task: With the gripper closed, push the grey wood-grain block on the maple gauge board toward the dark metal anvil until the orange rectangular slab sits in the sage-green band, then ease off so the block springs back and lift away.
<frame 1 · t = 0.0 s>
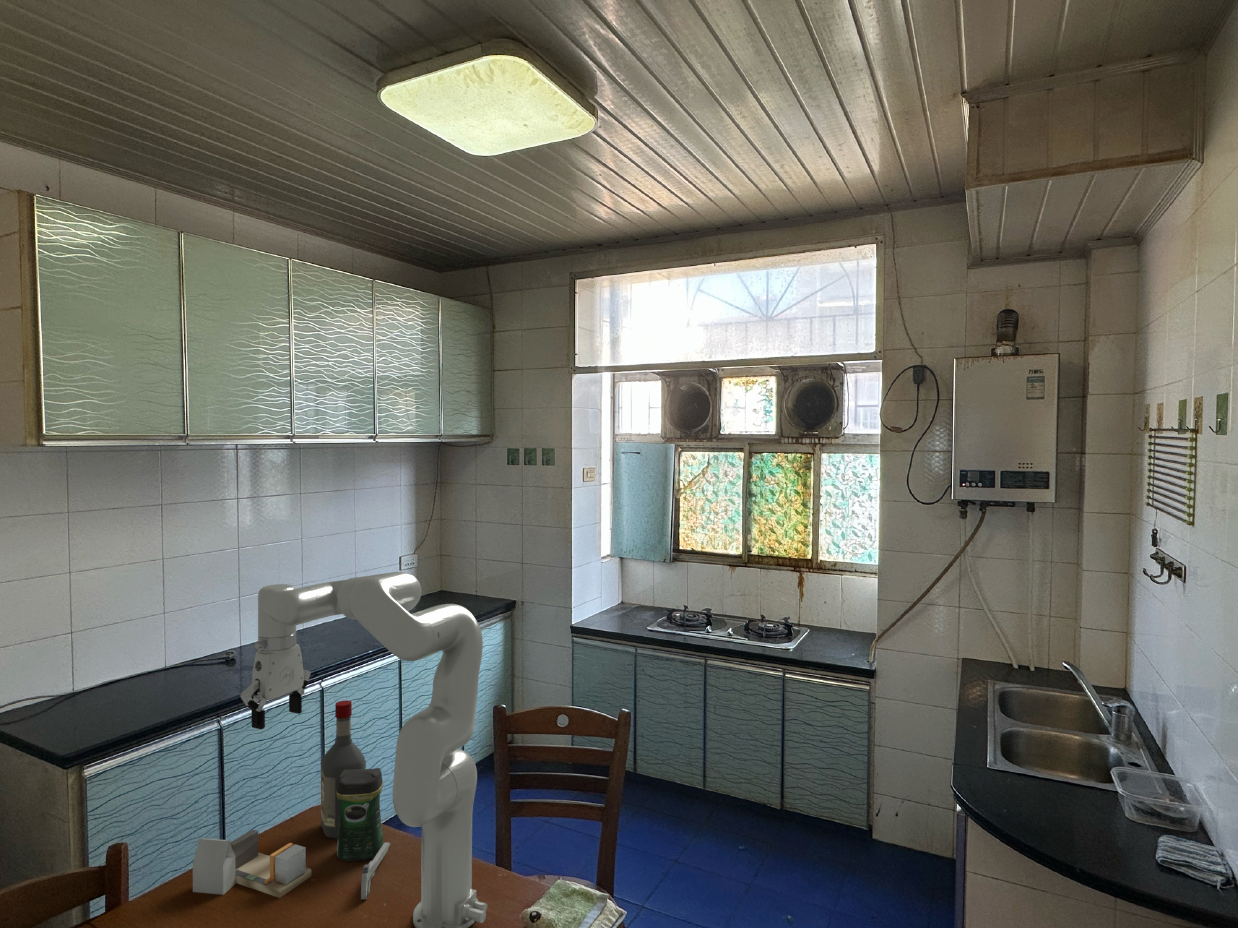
hand: (277, 719, 154), 31 cm above the table, tool pointing down, fingers open, 9 cm apart
orange rectangular slab: (278, 862, 146), point 4 cm above the table, slide at 0.0 cm
coffee jar: (360, 853, 158), on the table
liquor: (343, 828, 168), on the table
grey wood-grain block: (290, 863, 146), point 4 cm above the table, slide at 0.0 cm
gauge board: (267, 877, 149), on the table
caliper: (376, 872, 151), on the table
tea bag: (214, 888, 145), on the table
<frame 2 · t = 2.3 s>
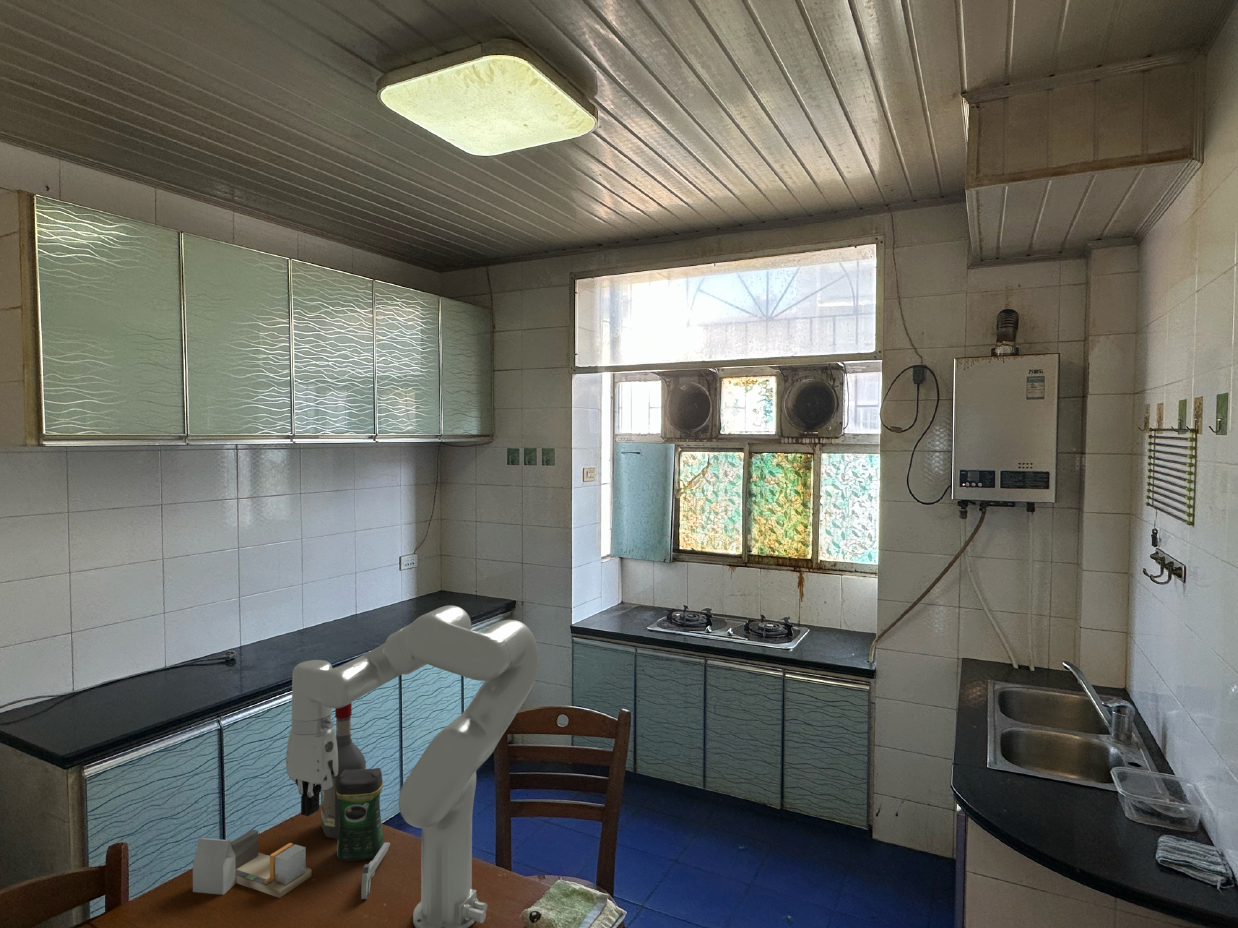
hand: (310, 812, 144), 16 cm above the table, tool pointing down, fingers closed
nothing on the table moved.
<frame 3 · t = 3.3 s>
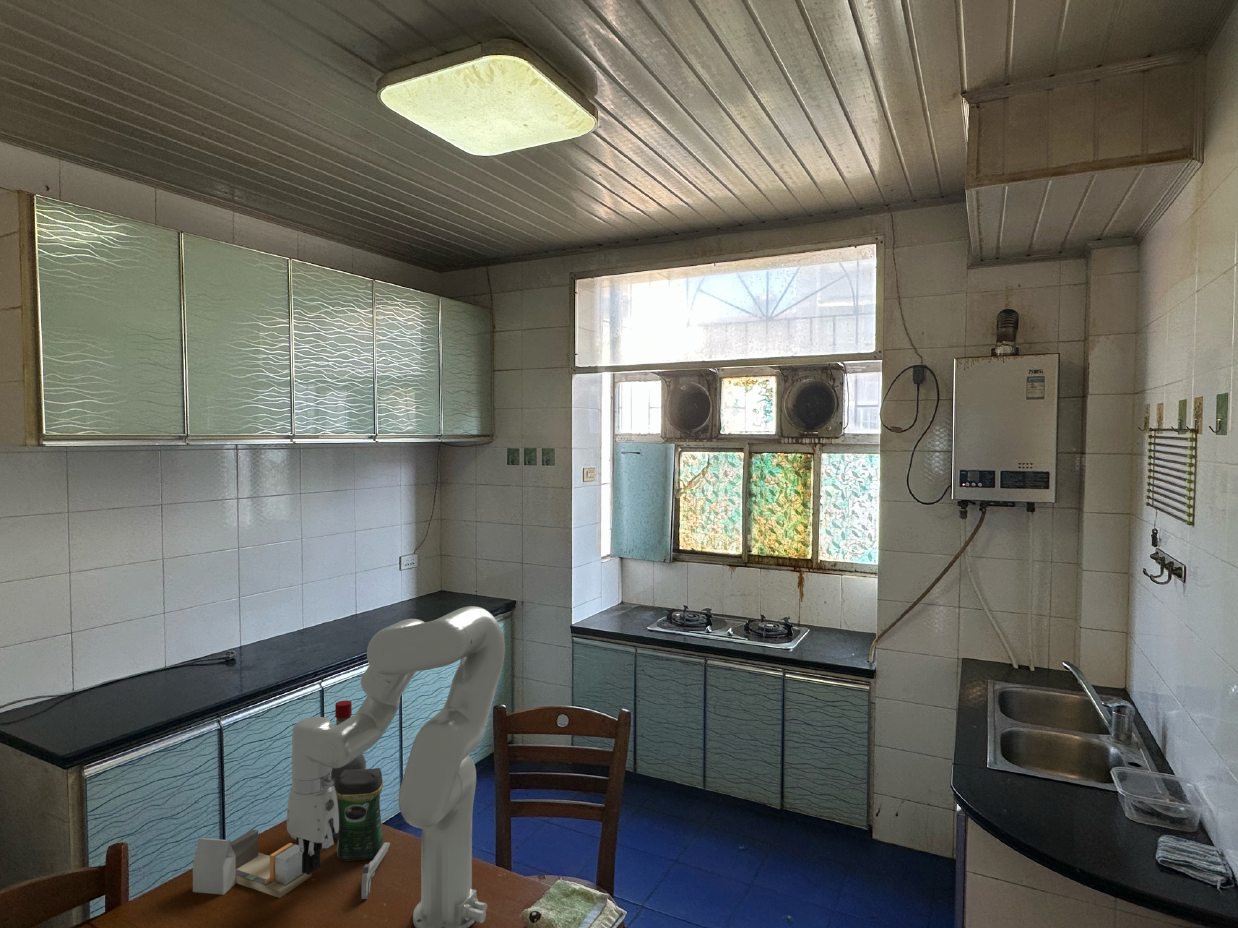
hand: (311, 869, 144), 5 cm above the table, tool pointing down, fingers closed
nothing on the table moved.
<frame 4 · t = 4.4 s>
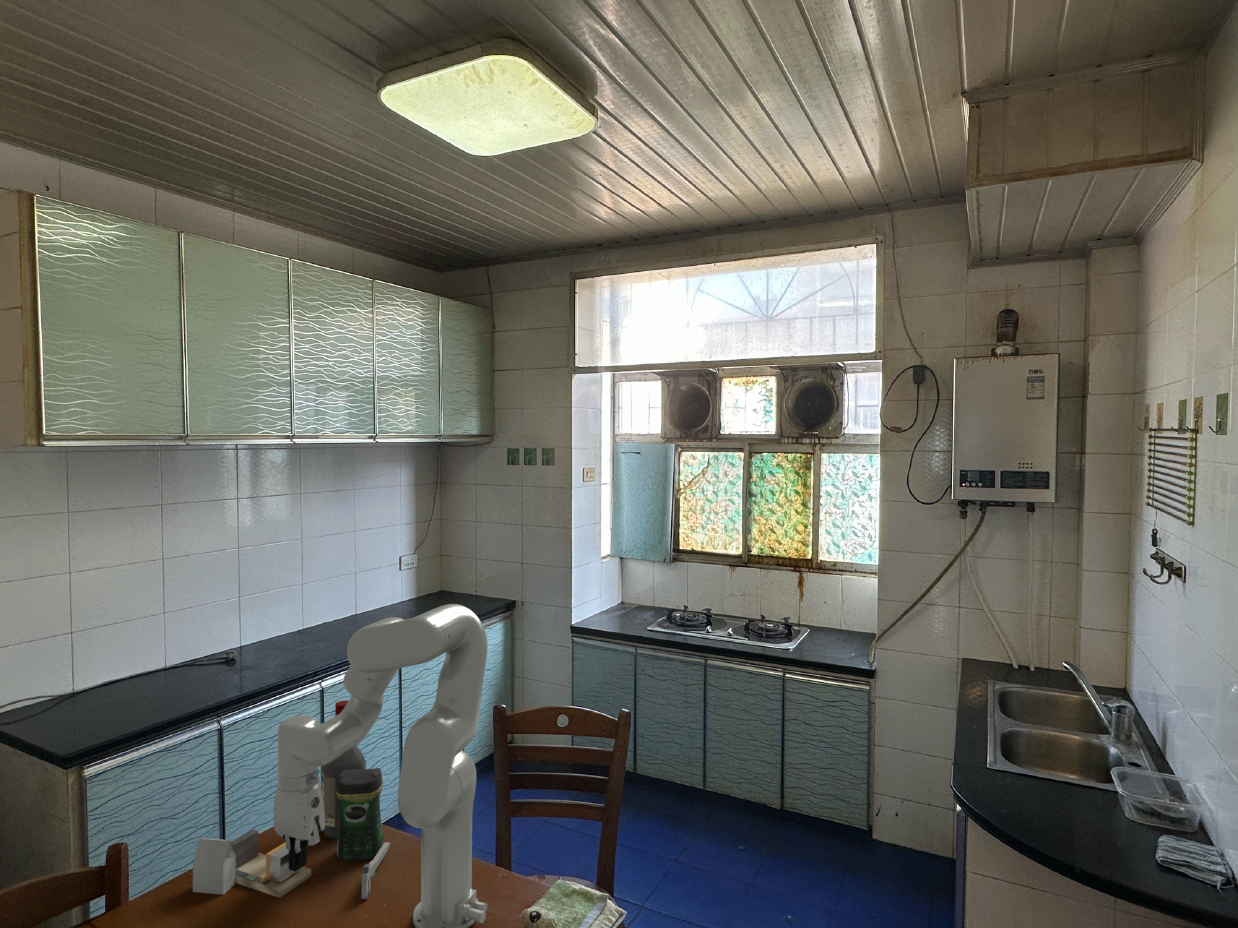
hand: (297, 866, 145), 4 cm above the table, tool pointing down, fingers closed
orange rectangular slab: (275, 861, 147), point 4 cm above the table, slide at 1.1 cm, touching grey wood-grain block
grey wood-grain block: (285, 862, 147), point 4 cm above the table, slide at 1.6 cm, touching gripper, orange rectangular slab
everything else where it was.
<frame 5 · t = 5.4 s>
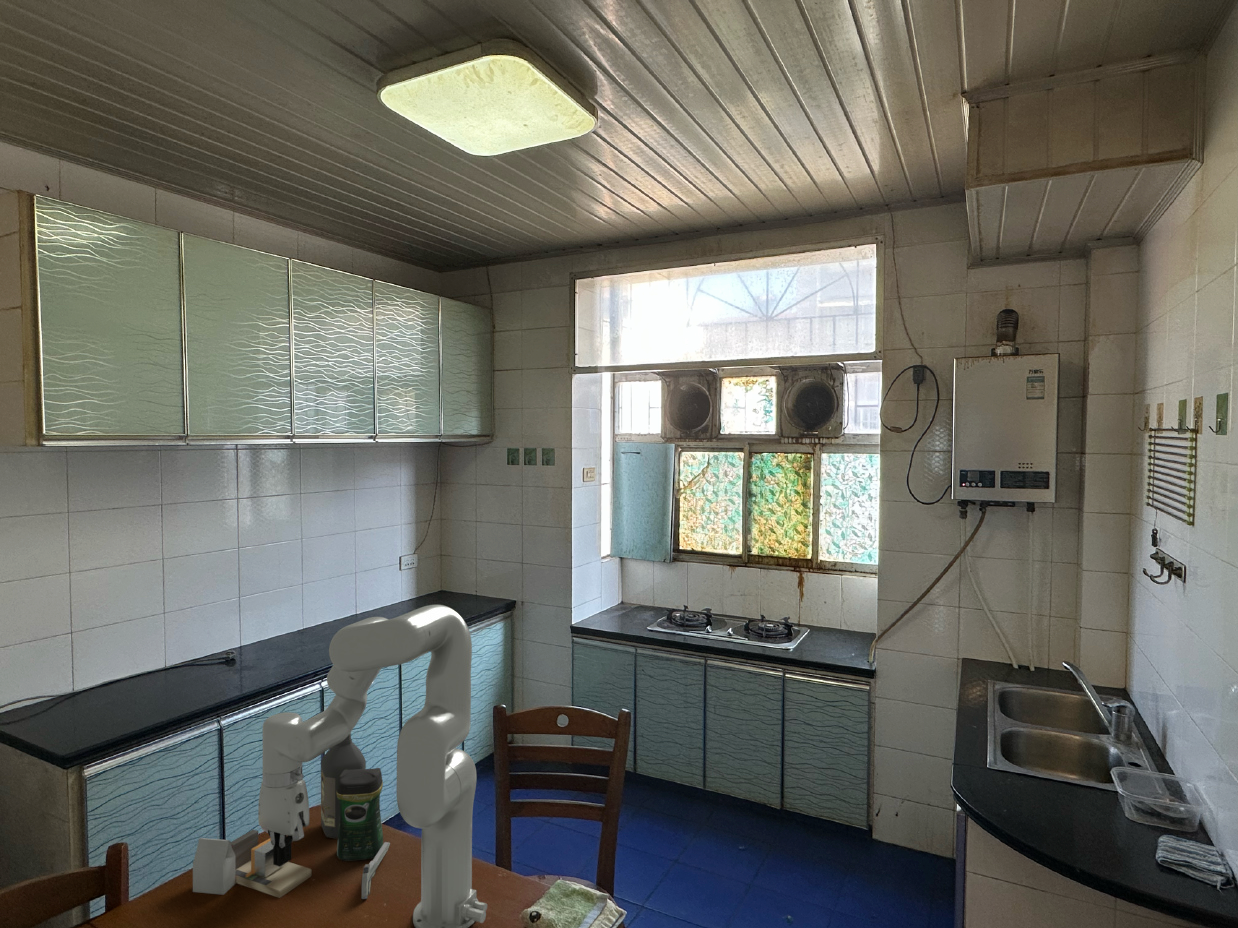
hand: (282, 862, 147), 4 cm above the table, tool pointing down, fingers closed
orange rectangular slab: (260, 856, 148), point 4 cm above the table, slide at 5.4 cm, touching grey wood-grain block
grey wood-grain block: (270, 857, 148), point 4 cm above the table, slide at 5.9 cm, touching gripper, orange rectangular slab
everything else where it was.
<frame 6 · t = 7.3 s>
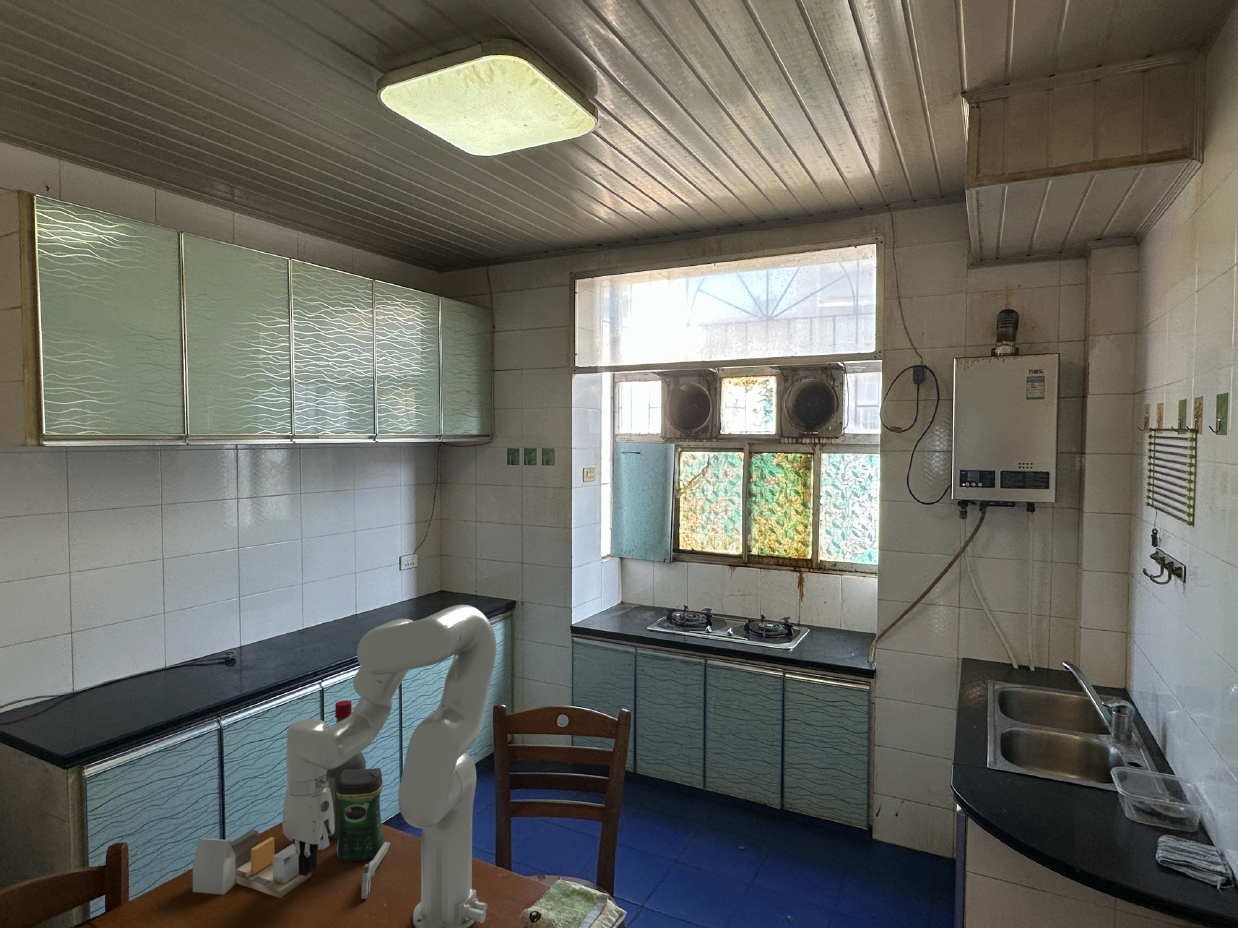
hand: (307, 871, 144), 4 cm above the table, tool pointing down, fingers closed
orange rectangular slab: (259, 856, 148), point 4 cm above the table, slide at 5.5 cm
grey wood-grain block: (288, 863, 146), point 4 cm above the table, slide at 0.6 cm
everything else where it was.
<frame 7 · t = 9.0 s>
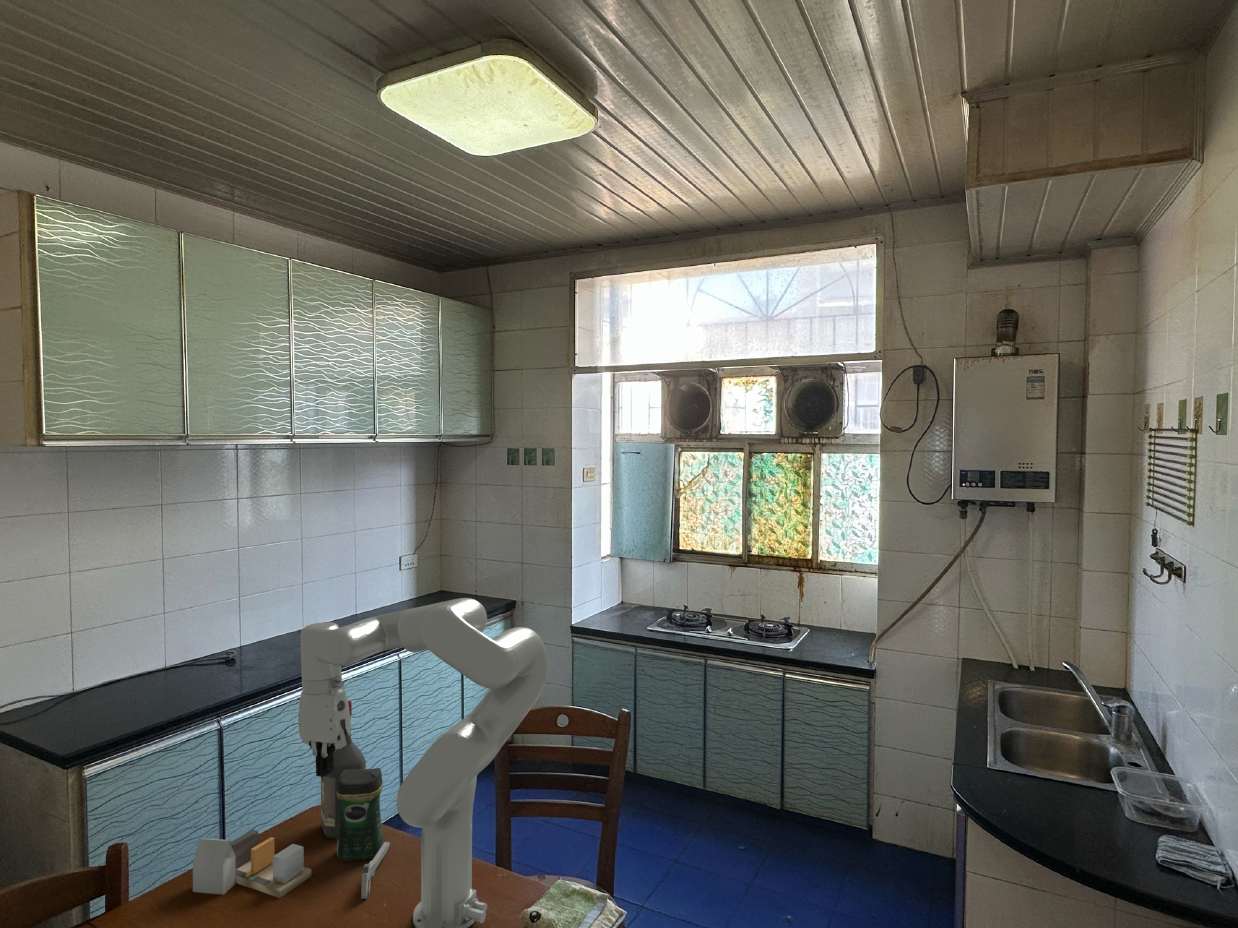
hand: (325, 773, 144), 24 cm above the table, tool pointing down, fingers closed
nothing on the table moved.
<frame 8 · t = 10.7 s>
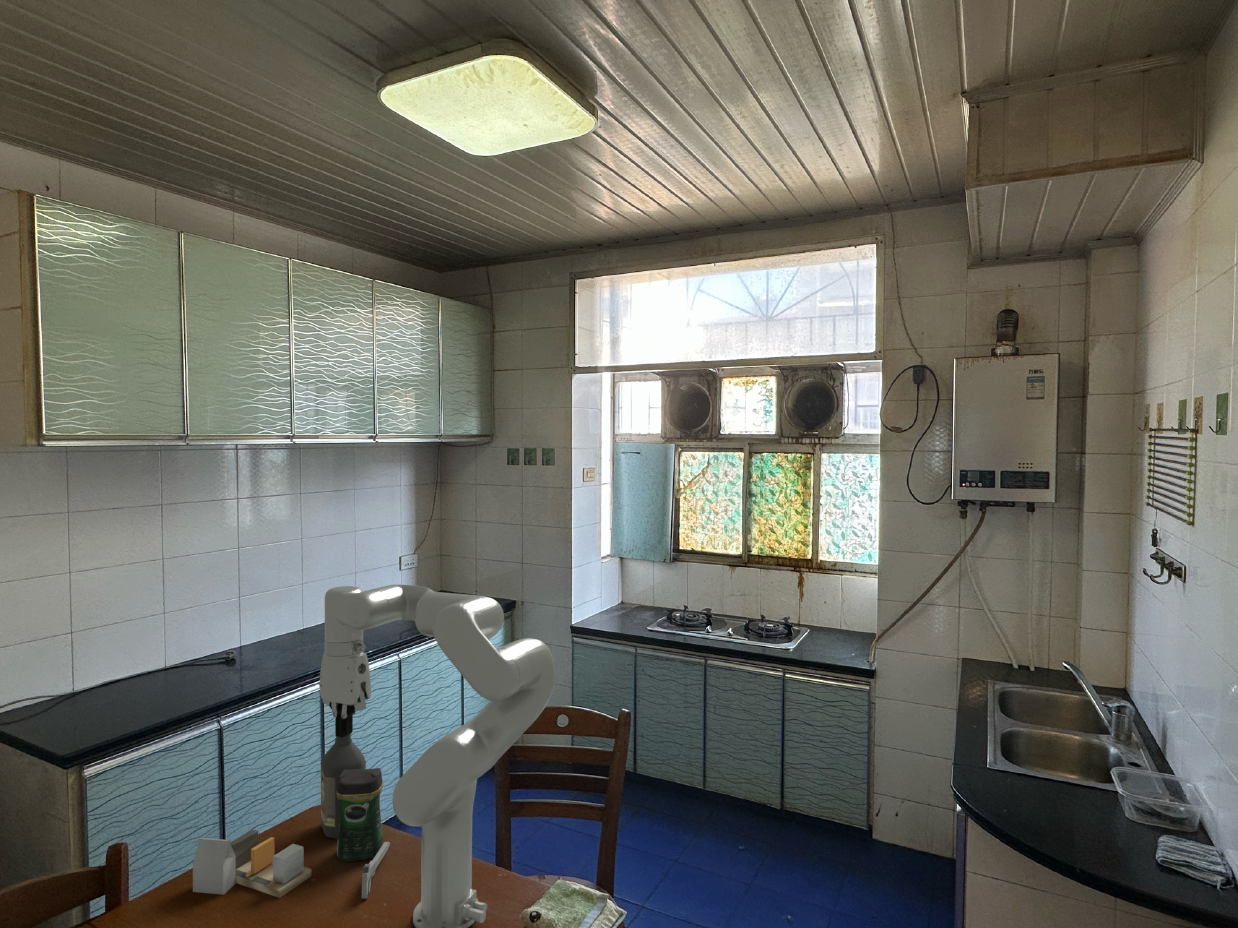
hand: (344, 734, 146), 31 cm above the table, tool pointing down, fingers closed
nothing on the table moved.
at the end: orange rectangular slab slide at 5.5 cm; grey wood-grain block slide at 0.6 cm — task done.
